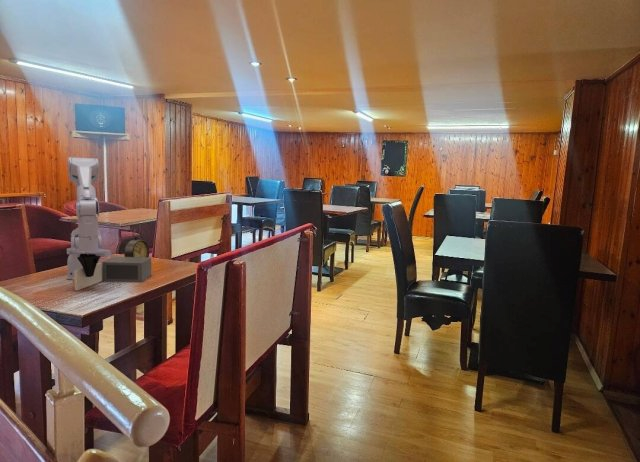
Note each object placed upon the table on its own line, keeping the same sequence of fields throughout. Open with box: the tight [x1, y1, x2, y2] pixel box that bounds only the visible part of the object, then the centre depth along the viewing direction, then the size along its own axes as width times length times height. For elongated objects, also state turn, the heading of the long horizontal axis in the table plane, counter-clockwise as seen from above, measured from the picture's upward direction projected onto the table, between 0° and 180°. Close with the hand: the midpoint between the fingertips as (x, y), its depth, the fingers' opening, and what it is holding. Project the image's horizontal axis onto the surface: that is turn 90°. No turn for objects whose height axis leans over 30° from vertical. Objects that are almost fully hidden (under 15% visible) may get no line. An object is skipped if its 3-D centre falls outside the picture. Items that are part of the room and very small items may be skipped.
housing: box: [101, 256, 152, 283], centre depth 157 cm, size 14×10×7 cm
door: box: [71, 262, 104, 291], centre depth 145 cm, size 14×2×7 cm, turn 173°
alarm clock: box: [123, 229, 150, 258], centre depth 172 cm, size 11×5×16 cm, turn 168°
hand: (89, 276), depth 142 cm, fingers closed
